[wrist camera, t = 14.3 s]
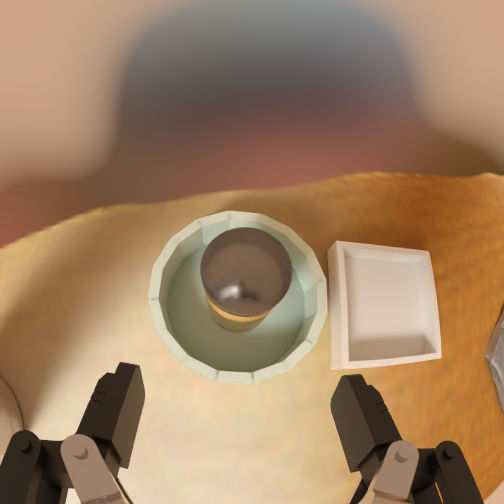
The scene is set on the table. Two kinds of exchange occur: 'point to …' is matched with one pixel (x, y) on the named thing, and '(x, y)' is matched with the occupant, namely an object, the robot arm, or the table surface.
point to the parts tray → (381, 306)
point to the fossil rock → (497, 357)
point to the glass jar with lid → (244, 277)
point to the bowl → (214, 337)
